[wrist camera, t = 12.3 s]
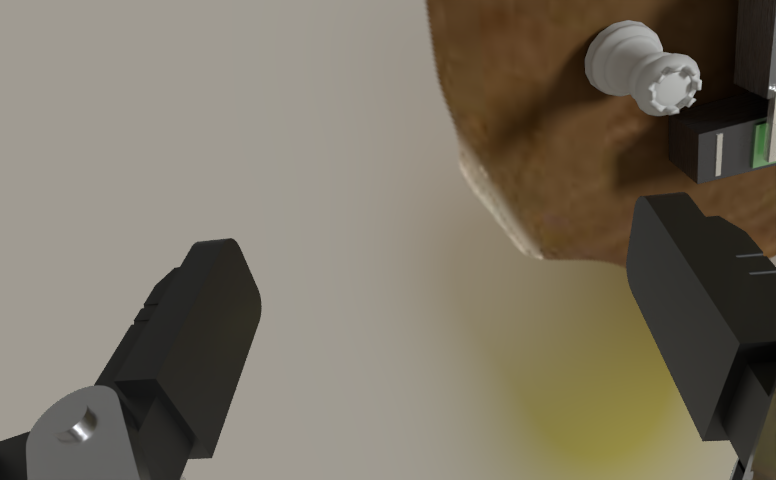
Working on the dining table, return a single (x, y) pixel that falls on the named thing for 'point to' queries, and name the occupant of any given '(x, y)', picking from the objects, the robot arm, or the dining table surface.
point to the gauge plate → (758, 60)
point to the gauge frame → (720, 138)
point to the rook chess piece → (641, 69)
